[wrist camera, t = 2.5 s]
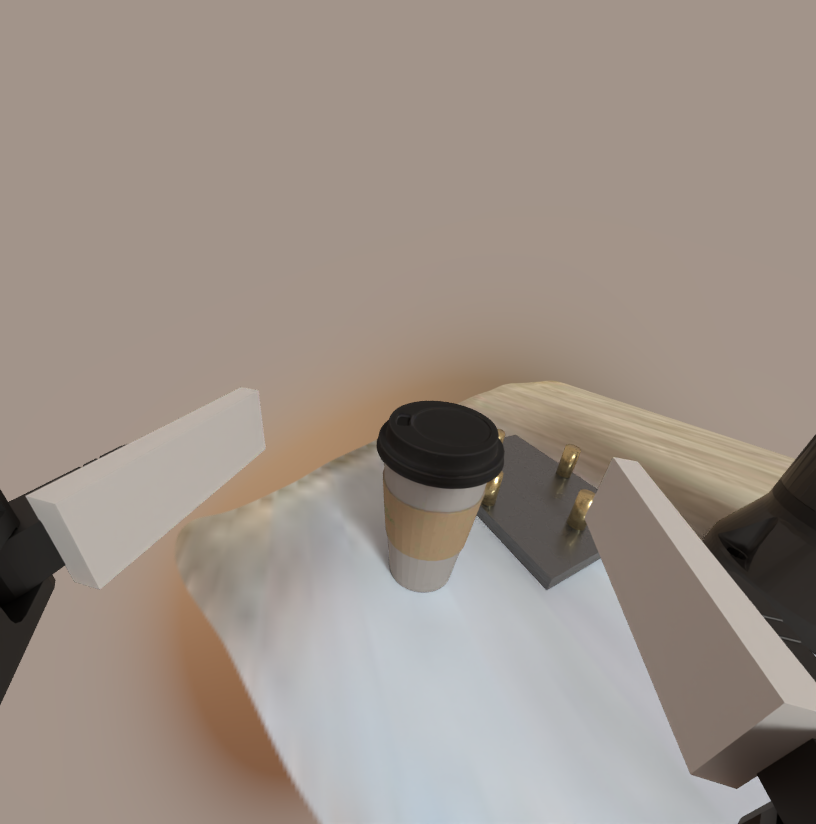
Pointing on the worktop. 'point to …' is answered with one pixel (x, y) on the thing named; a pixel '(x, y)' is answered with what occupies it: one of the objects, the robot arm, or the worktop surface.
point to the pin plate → (541, 511)
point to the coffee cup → (434, 486)
